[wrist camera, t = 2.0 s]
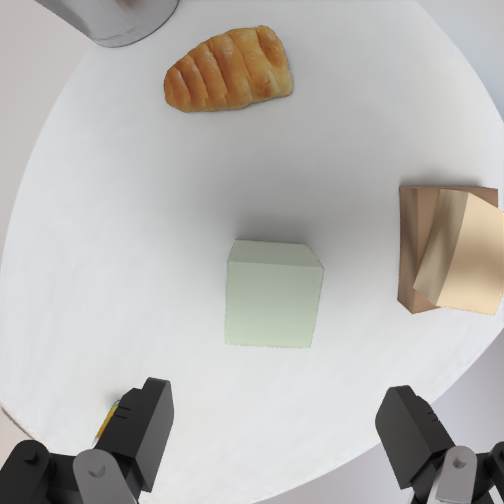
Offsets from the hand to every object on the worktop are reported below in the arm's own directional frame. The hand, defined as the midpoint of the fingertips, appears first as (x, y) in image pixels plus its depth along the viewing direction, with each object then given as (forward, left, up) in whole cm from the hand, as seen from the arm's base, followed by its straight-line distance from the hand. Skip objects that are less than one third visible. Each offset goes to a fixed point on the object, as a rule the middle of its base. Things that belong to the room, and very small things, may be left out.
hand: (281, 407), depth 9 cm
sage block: (0, 0, -14) cm, 14 cm away
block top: (-4, +16, -11) cm, 20 cm away
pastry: (-16, -4, -14) cm, 22 cm away
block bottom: (-4, +16, -15) cm, 22 cm away
